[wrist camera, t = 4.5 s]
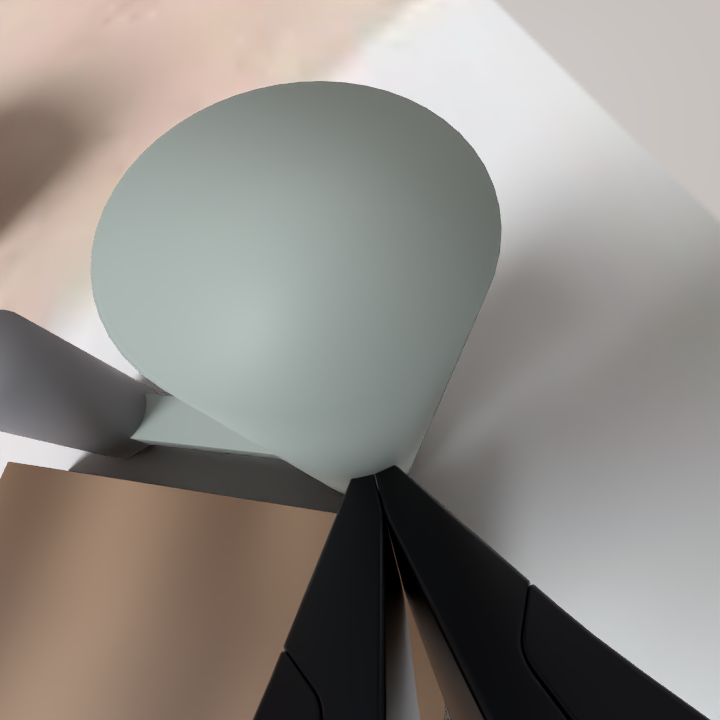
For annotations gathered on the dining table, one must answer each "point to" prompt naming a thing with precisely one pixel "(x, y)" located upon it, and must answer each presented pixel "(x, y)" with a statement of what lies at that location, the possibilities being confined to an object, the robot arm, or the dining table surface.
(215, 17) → the dining table surface
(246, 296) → the grey u-shaped piece
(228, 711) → the stool seat
